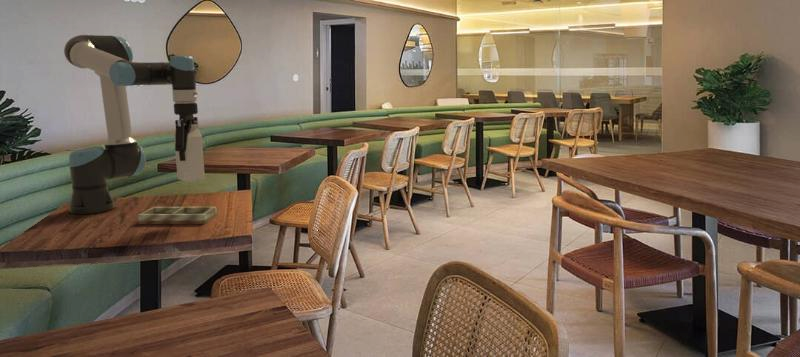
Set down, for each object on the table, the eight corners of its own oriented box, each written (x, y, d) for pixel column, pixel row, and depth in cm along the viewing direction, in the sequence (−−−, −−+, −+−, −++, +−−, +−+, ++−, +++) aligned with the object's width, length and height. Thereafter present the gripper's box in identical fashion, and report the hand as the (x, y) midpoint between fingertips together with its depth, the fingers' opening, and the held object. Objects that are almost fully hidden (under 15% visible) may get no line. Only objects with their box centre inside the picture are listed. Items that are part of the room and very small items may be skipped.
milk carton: (205, 179, 206) (201, 124, 202) (184, 182, 201) (180, 126, 198) (197, 176, 211) (193, 123, 208) (177, 179, 207) (173, 124, 203)
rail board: (138, 224, 203) (137, 214, 203) (153, 215, 215) (152, 206, 214) (205, 223, 203) (204, 214, 202) (216, 215, 214) (216, 206, 214)
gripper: (183, 104, 190) (188, 173, 194) (207, 100, 212) (212, 162, 216) (160, 104, 190) (166, 173, 194) (186, 100, 212) (191, 162, 217)
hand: (190, 167), depth 205 cm, fingers closed on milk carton, 10 cm apart
